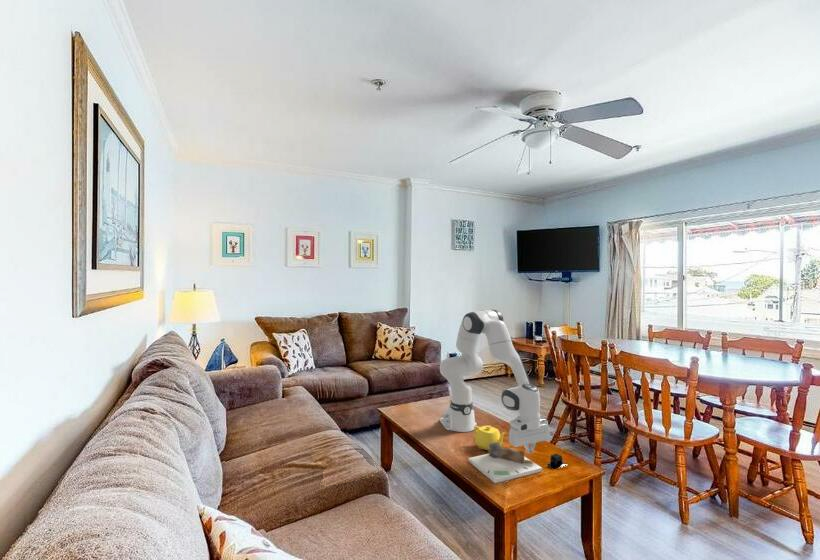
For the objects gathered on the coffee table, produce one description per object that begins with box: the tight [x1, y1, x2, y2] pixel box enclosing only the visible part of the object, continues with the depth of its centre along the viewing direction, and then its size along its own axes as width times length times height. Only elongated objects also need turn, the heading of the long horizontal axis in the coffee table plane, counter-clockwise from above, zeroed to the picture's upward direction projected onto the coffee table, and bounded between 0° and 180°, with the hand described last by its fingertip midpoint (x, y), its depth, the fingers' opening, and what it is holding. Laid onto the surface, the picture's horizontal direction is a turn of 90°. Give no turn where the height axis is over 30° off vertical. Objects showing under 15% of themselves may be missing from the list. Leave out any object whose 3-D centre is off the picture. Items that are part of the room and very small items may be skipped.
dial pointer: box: [488, 443, 534, 465], centre depth 171 cm, size 20×5×4 cm, turn 58°
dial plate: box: [468, 453, 543, 484], centre depth 169 cm, size 20×24×2 cm
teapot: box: [473, 425, 507, 453], centre depth 186 cm, size 18×11×11 cm, turn 45°
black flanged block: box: [546, 453, 569, 470], centre depth 170 cm, size 12×7×5 cm, turn 119°
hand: (529, 452), depth 172 cm, fingers closed
